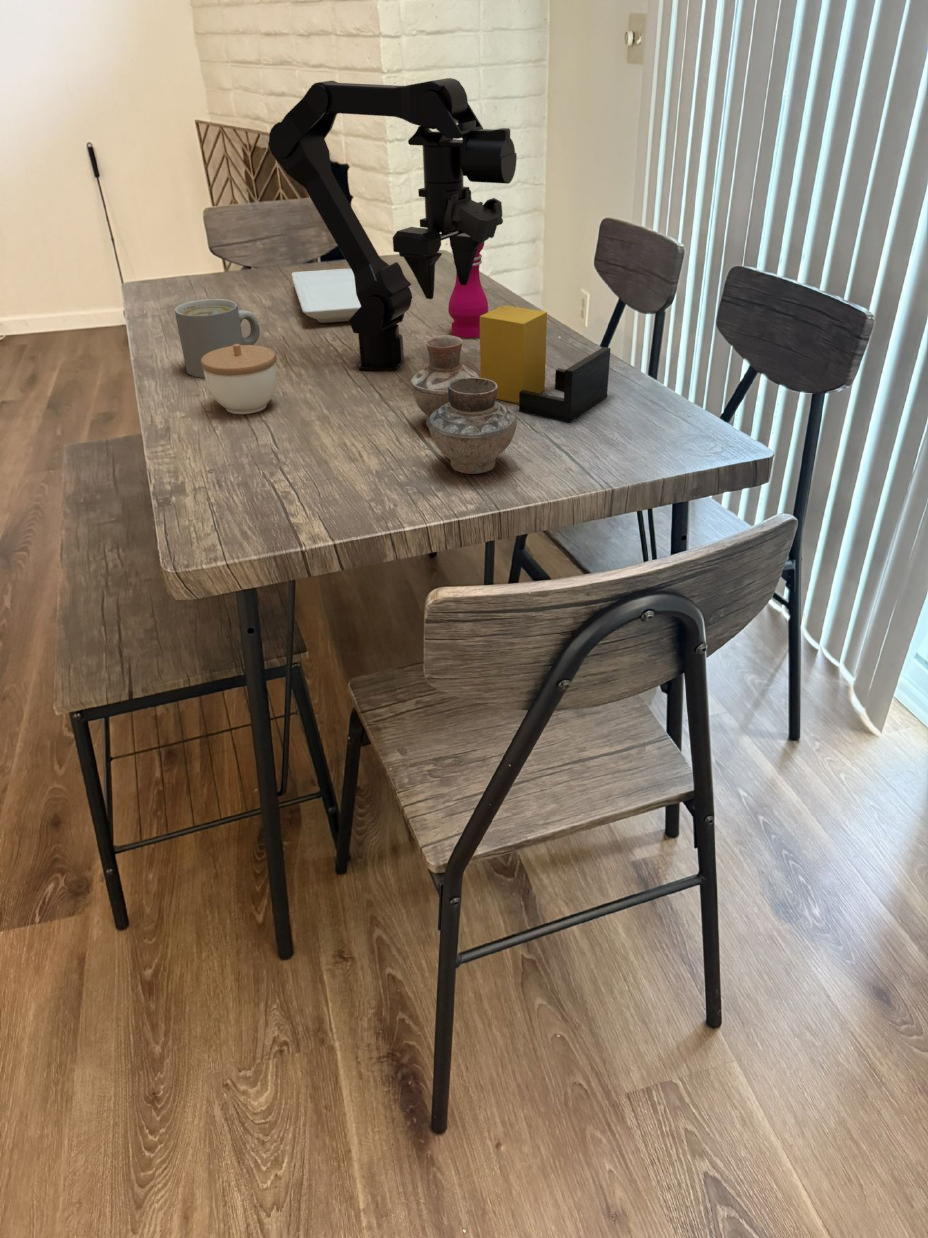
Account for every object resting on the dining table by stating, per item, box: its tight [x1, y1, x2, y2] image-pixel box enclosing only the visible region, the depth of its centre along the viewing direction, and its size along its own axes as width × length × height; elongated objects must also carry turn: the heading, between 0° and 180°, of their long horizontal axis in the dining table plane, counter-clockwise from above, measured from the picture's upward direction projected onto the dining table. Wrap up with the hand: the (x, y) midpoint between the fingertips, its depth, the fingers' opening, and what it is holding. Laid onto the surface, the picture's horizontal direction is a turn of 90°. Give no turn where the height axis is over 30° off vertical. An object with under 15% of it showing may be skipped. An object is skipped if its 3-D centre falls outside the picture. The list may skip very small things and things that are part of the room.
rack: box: [518, 346, 611, 423], centre depth 131 cm, size 8×12×8 cm
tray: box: [291, 268, 361, 324], centre depth 179 cm, size 17×32×4 cm, turn 13°
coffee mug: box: [174, 298, 260, 379], centre depth 148 cm, size 13×10×10 cm
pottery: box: [409, 334, 518, 475], centre depth 118 cm, size 11×25×12 cm, turn 15°
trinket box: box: [201, 344, 278, 415], centre depth 132 cm, size 11×11×9 cm
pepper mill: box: [448, 241, 489, 339], centre depth 157 cm, size 7×7×20 cm
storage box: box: [479, 304, 548, 405], centre depth 134 cm, size 8×7×12 cm
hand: (447, 291), depth 138 cm, fingers open, 9 cm apart
